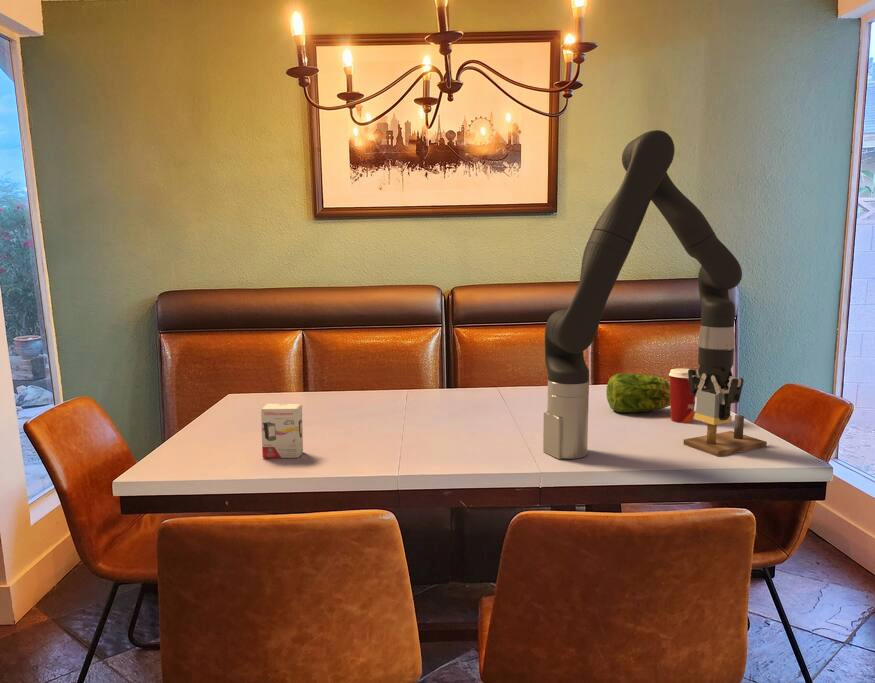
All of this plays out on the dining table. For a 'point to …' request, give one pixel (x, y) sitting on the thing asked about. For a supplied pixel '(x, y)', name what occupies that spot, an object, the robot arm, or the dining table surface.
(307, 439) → the dining table surface
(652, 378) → the lettuce
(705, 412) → the sleeve
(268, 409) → the ink box
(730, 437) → the pin board
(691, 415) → the paper cup
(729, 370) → the robot arm
